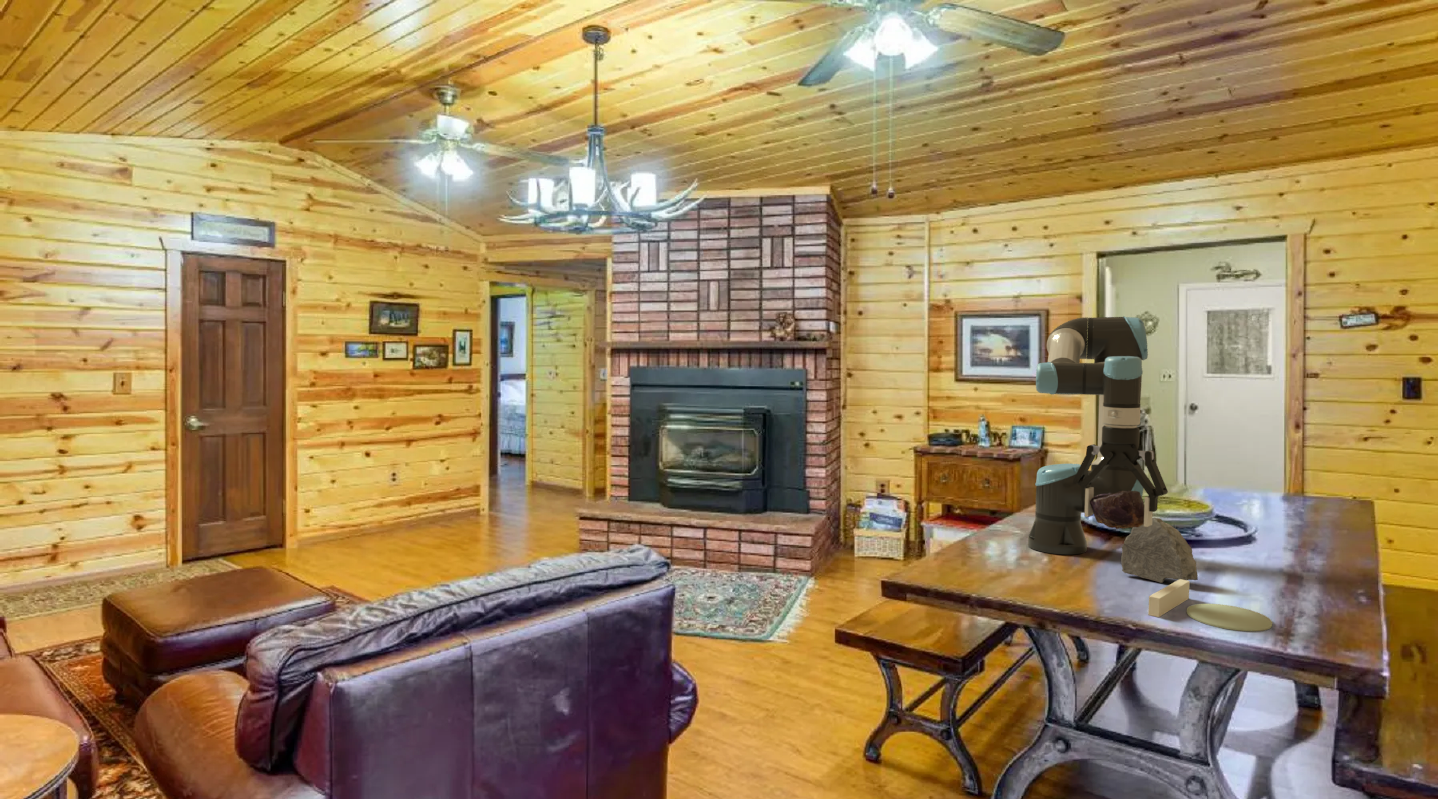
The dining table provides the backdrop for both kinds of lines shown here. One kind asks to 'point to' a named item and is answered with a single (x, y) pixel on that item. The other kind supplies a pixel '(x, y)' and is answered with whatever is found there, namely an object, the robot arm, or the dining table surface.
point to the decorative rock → (1158, 553)
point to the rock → (1119, 509)
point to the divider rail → (1168, 598)
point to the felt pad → (1229, 617)
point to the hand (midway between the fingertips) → (1117, 520)
